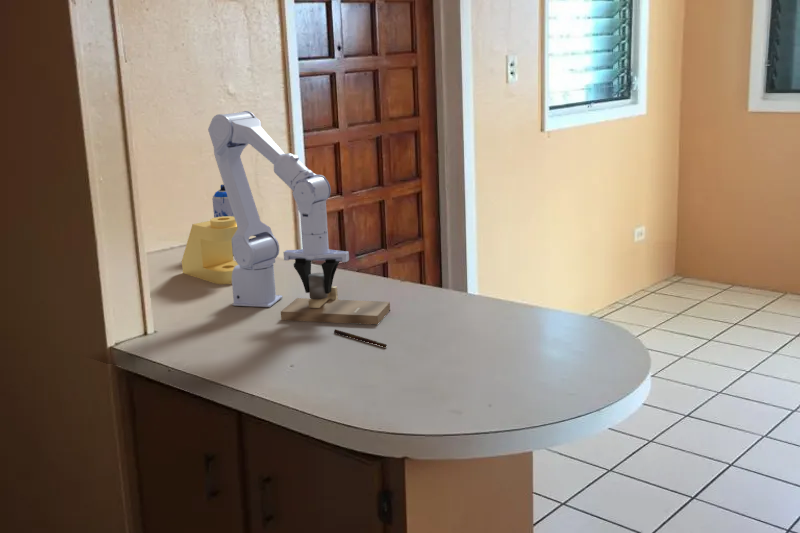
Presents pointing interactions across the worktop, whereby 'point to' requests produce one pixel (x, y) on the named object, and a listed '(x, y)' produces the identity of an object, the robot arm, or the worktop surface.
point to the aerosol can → (222, 204)
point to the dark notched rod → (359, 338)
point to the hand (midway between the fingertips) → (318, 292)
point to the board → (337, 311)
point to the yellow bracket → (211, 250)
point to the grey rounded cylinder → (319, 291)
